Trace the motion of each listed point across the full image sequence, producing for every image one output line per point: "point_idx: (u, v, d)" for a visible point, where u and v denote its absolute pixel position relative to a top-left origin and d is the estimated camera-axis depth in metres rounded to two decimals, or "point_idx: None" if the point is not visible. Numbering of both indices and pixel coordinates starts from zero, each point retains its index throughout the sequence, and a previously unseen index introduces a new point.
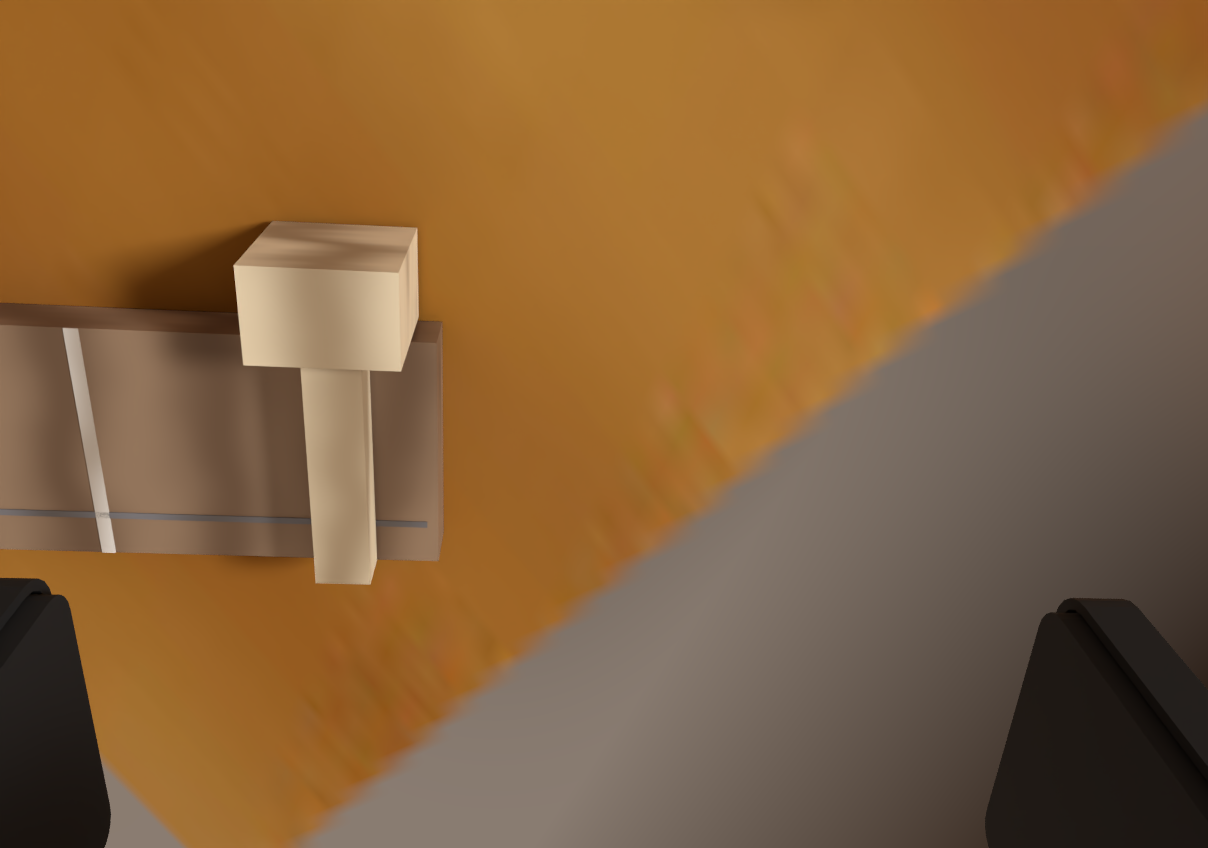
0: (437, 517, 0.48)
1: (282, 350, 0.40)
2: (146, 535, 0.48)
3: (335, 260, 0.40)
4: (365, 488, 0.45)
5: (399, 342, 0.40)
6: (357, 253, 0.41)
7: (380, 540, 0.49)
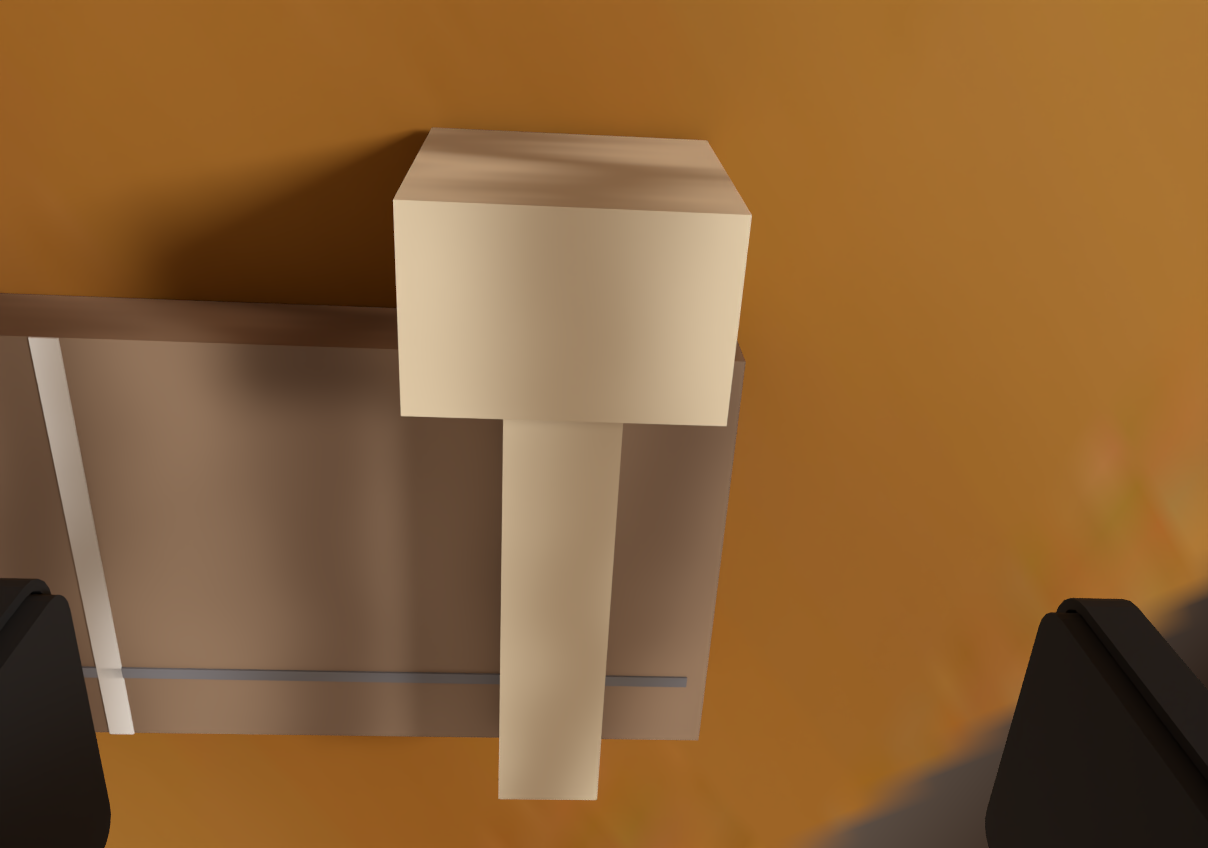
0: (705, 669, 0.27)
1: (485, 384, 0.19)
2: (188, 705, 0.27)
3: (601, 192, 0.19)
4: (606, 638, 0.24)
5: (731, 366, 0.19)
6: (633, 179, 0.20)
7: None
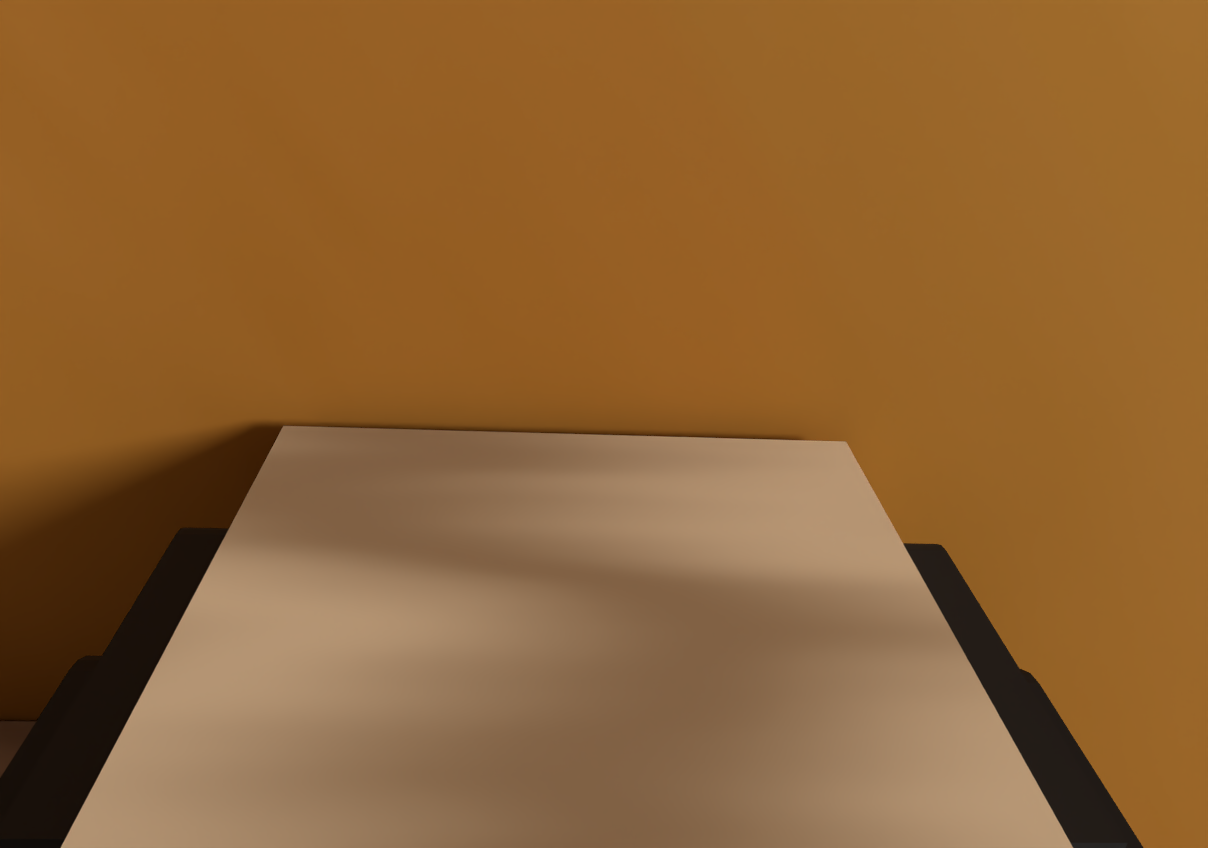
0: None
1: None
2: None
3: (657, 772, 0.07)
4: None
5: None
6: (730, 666, 0.08)
7: None
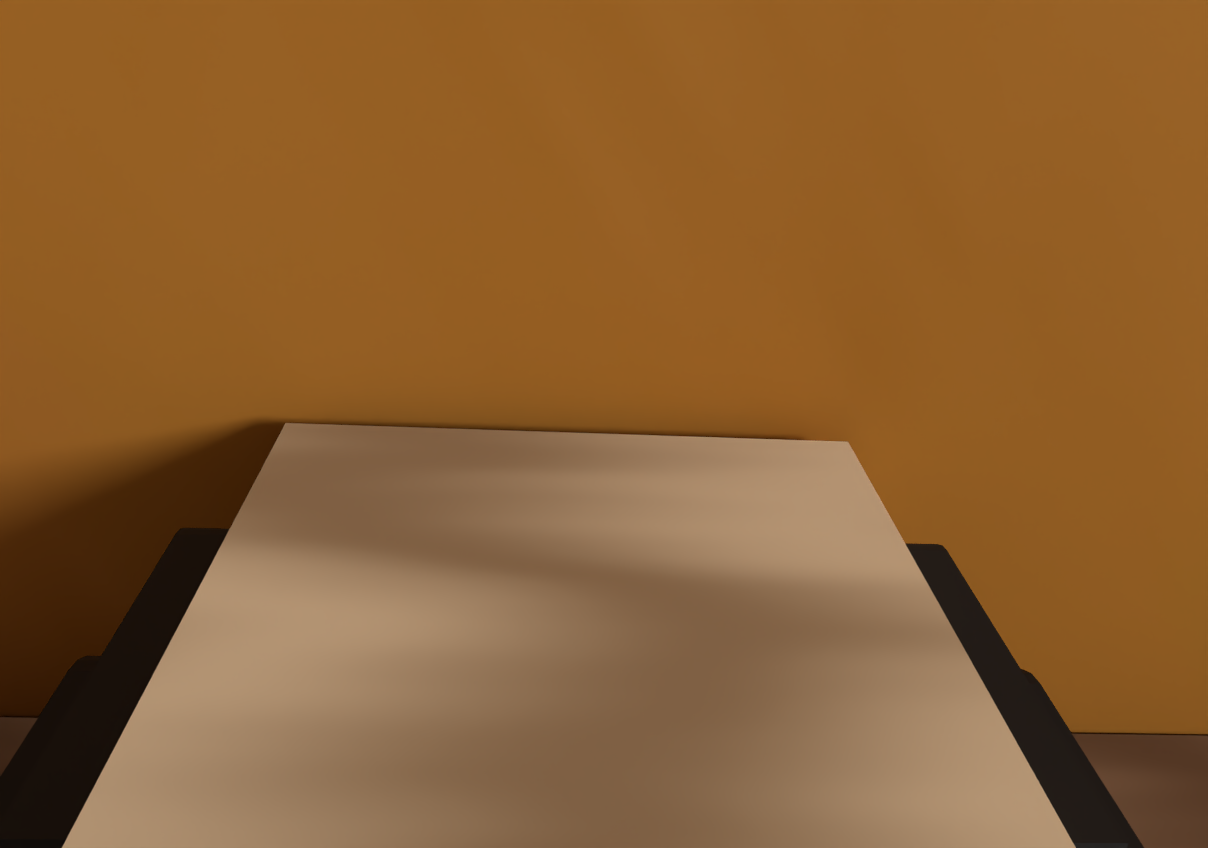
0: None
1: None
2: None
3: (661, 769, 0.07)
4: None
5: None
6: (732, 664, 0.08)
7: None
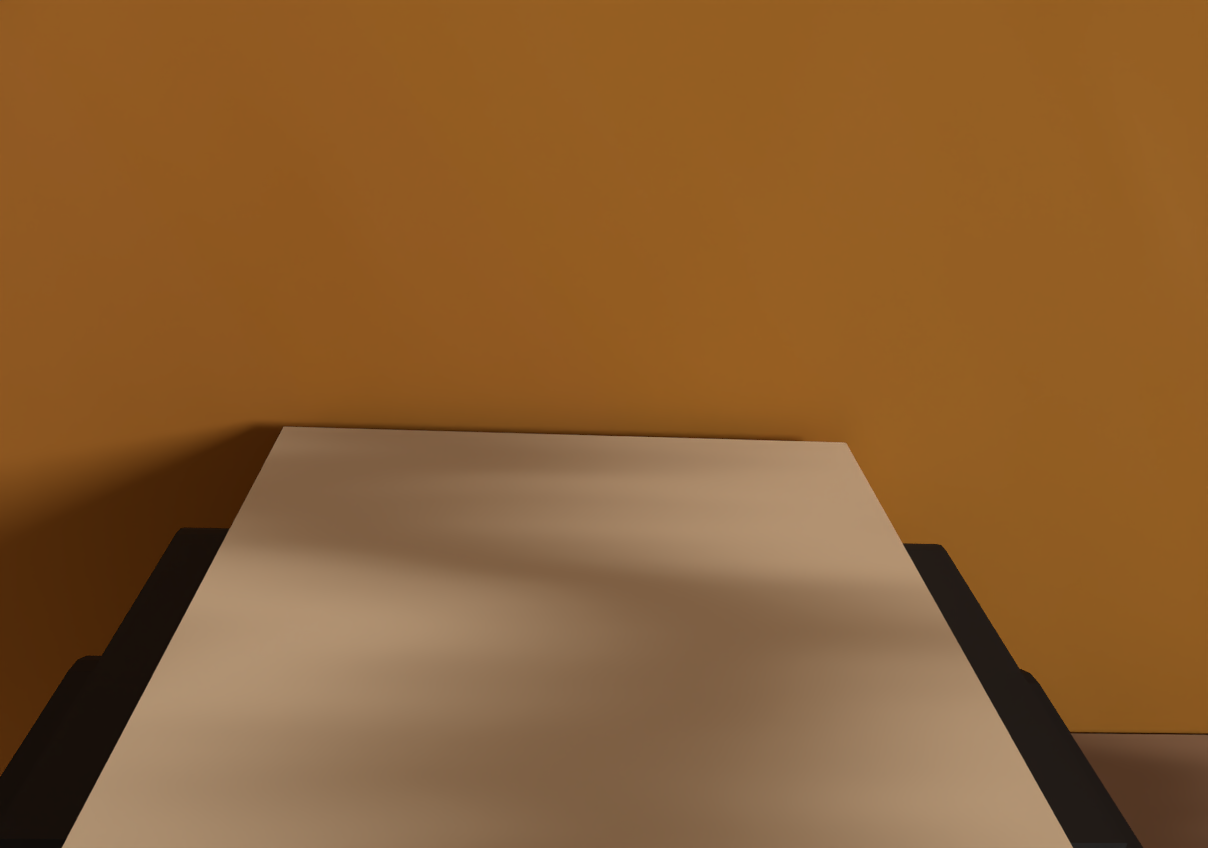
0: None
1: None
2: None
3: (659, 772, 0.07)
4: None
5: None
6: (729, 666, 0.08)
7: None
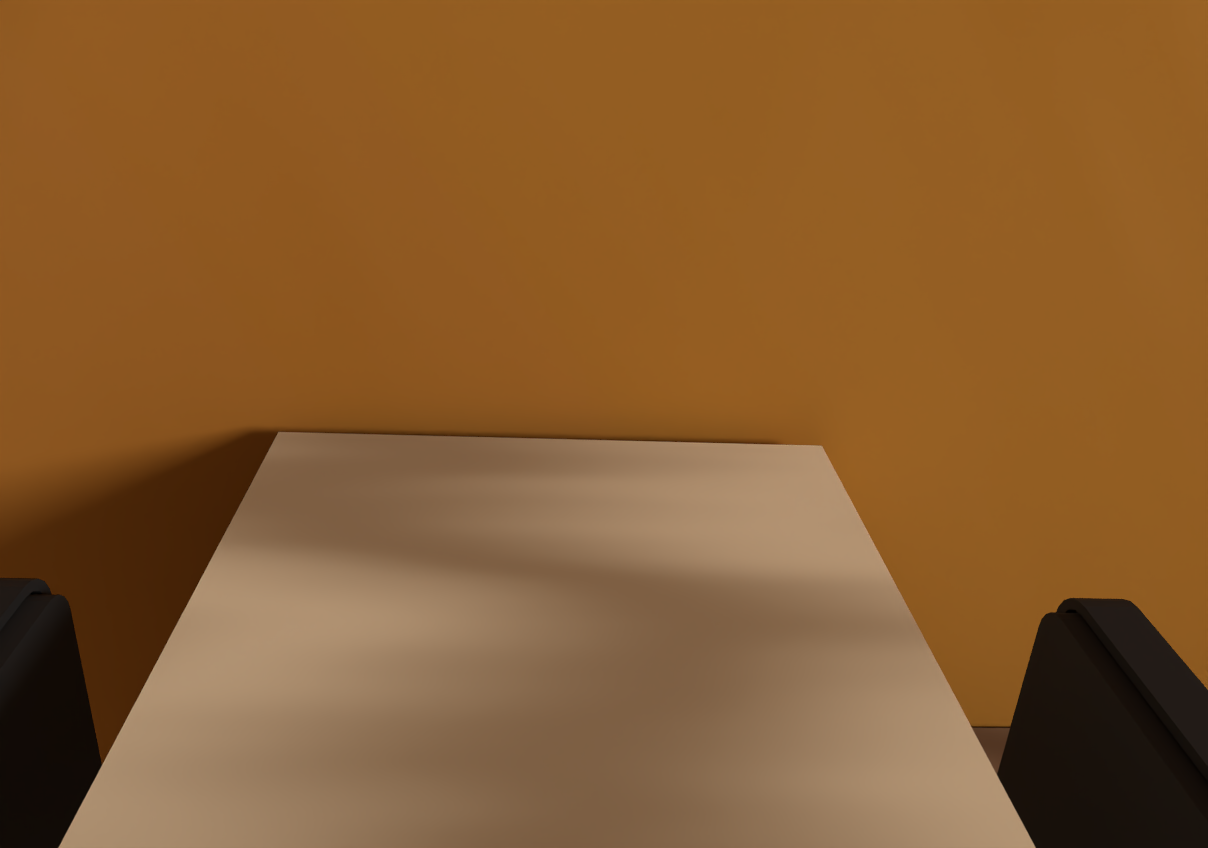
0: None
1: None
2: None
3: (633, 756, 0.07)
4: None
5: None
6: (704, 657, 0.08)
7: None
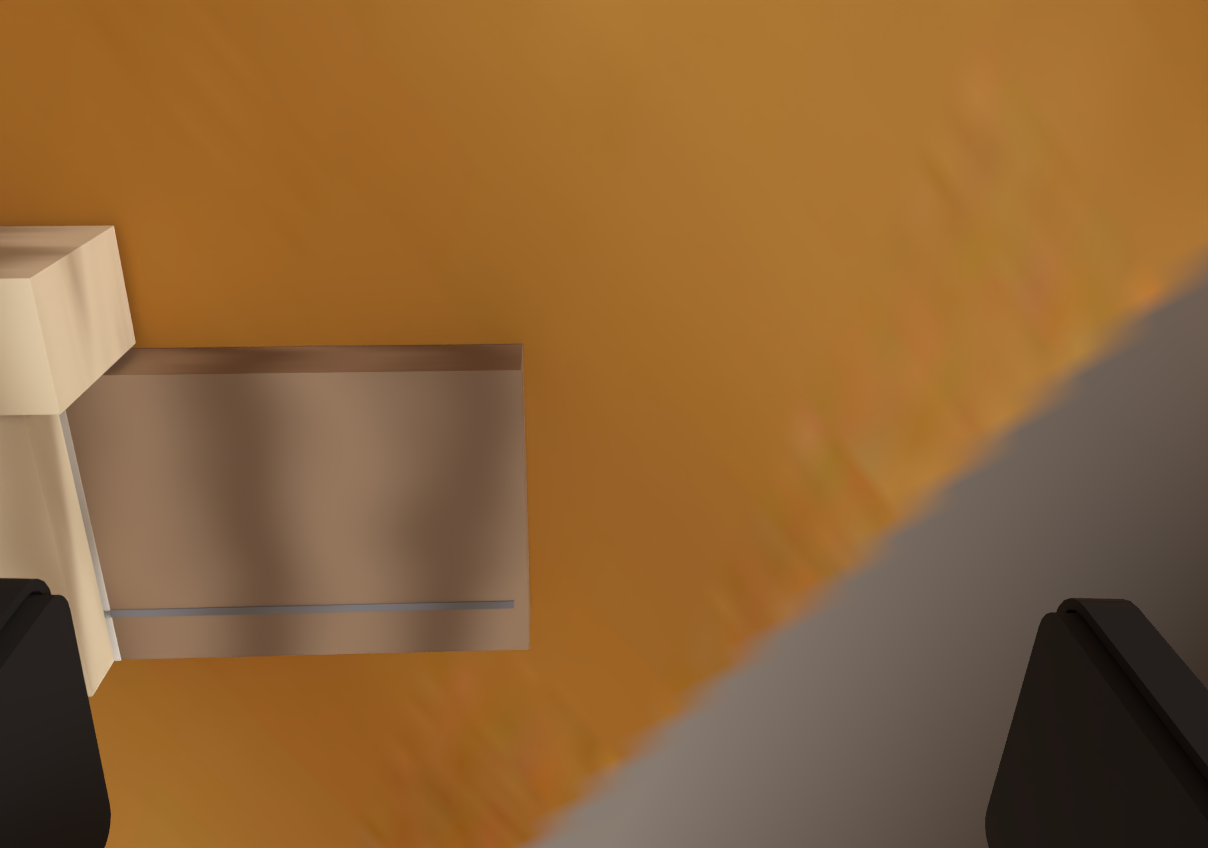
0: (526, 594, 0.38)
1: None
2: (158, 636, 0.38)
3: None
4: (62, 572, 0.34)
5: (50, 374, 0.29)
6: None
7: (454, 627, 0.38)
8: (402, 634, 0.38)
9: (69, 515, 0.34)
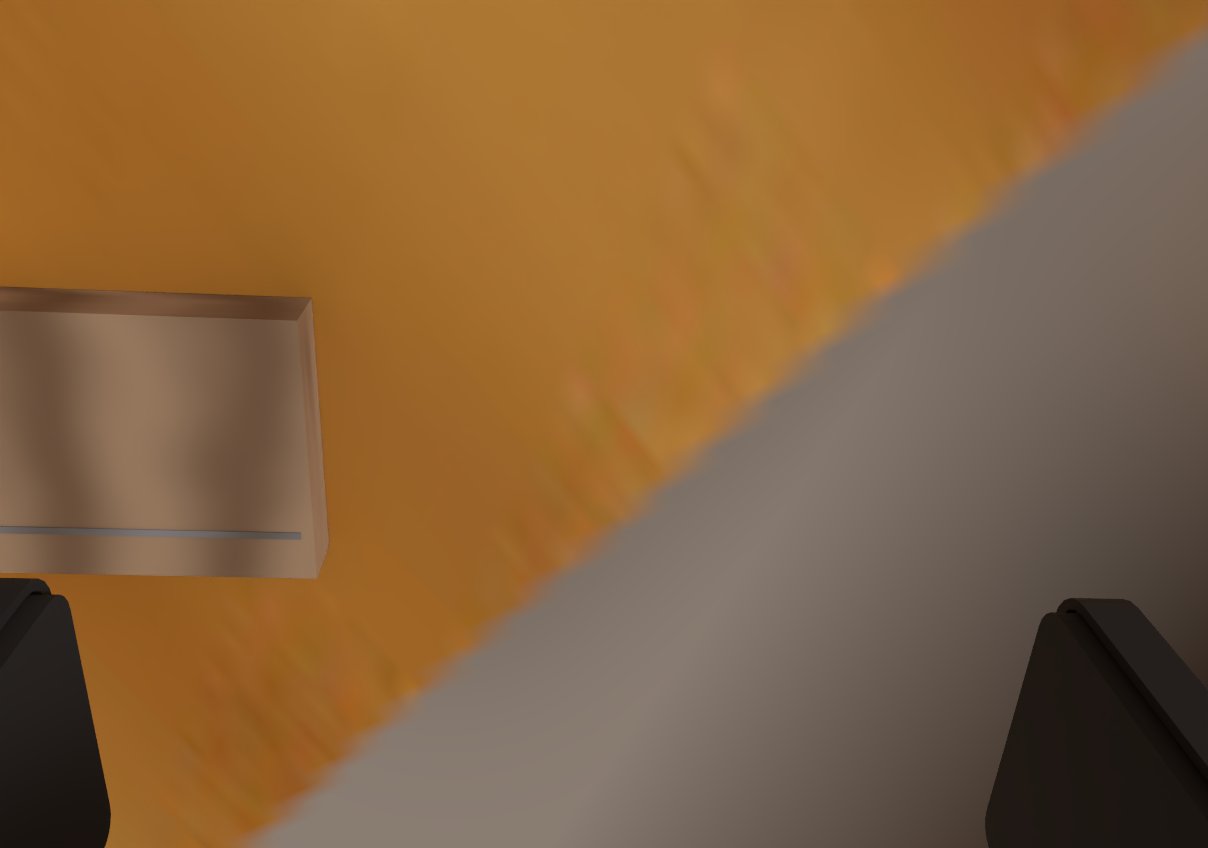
0: (312, 527, 0.41)
1: None
2: None
3: None
4: None
5: None
6: None
7: (246, 555, 0.42)
8: (199, 559, 0.42)
9: None
